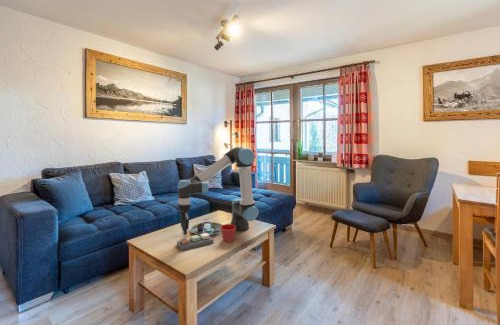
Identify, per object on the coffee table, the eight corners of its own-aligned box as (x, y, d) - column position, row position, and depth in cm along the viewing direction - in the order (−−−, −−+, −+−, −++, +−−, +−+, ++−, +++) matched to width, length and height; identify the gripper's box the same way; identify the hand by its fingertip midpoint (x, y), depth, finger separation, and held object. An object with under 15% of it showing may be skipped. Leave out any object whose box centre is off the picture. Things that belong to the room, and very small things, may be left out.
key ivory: (206, 235, 180) (206, 232, 180) (209, 238, 176) (209, 235, 176) (200, 237, 178) (200, 234, 177) (203, 239, 174) (202, 236, 173)
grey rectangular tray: (207, 237, 184) (207, 234, 183) (213, 242, 175) (213, 239, 175) (176, 244, 172) (176, 241, 171) (181, 250, 163) (181, 246, 163)
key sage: (197, 237, 176) (197, 234, 176) (199, 240, 172) (199, 237, 172) (190, 239, 174) (190, 236, 174) (193, 241, 170) (193, 238, 170)
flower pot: (221, 243, 174) (221, 230, 173) (220, 237, 185) (220, 224, 183) (236, 242, 176) (236, 229, 175) (234, 236, 187) (234, 223, 186)
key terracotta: (187, 240, 173) (187, 236, 172) (189, 242, 169) (189, 239, 168) (180, 241, 170) (180, 238, 170) (182, 244, 166) (182, 241, 166)
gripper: (175, 202, 170) (176, 236, 173) (181, 206, 159) (182, 243, 162) (186, 200, 174) (187, 234, 177) (193, 205, 163) (193, 240, 166)
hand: (184, 238), depth 169 cm, fingers closed
